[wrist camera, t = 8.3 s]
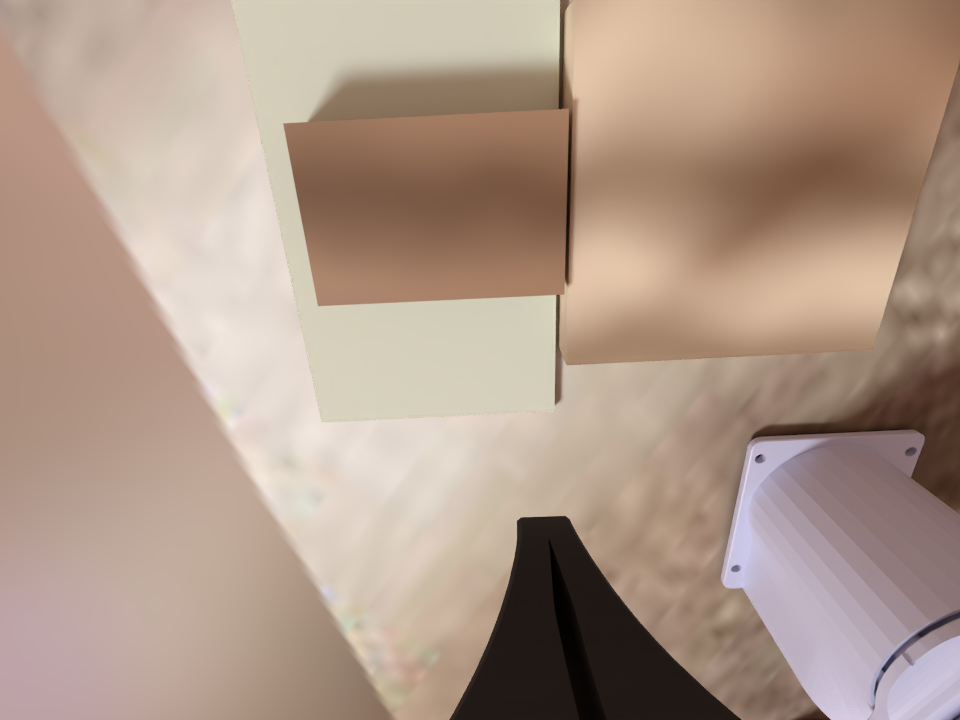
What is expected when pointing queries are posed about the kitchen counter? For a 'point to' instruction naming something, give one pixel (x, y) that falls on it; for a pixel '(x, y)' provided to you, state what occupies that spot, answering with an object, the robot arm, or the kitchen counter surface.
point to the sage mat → (390, 94)
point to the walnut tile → (433, 205)
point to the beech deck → (743, 170)
